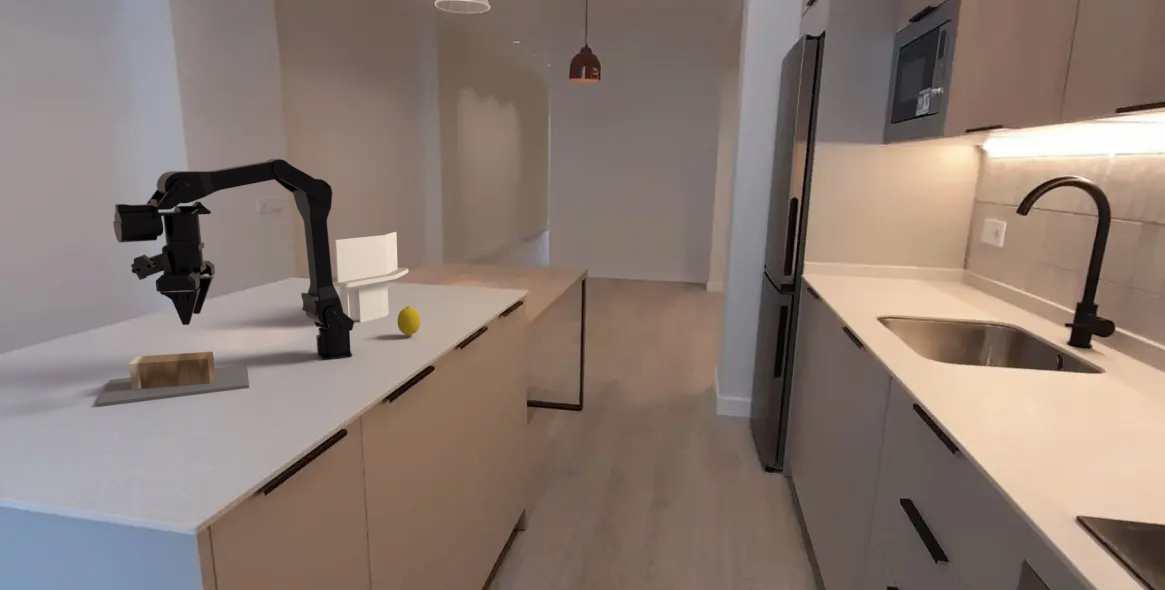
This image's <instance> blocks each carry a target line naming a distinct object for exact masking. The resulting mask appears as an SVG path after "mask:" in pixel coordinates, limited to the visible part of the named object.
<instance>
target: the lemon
mask: <svg viewBox="0 0 1165 590" xmlns="http://www.w3.org/2000/svg"><path fill="white" fill-rule="evenodd" d="M397 326H398V330H399V331H400V332H401V333H402V334H404V335H406V336H407V337H408V338H410V337H412V336H413V335H414V334H416V333H417V332H418V331H419V329H420V327H421V319H420V314H419V312H418V311H417V309H415V308H413V307H411V306H410V305H408V306H406V307H403V308H402V309H401V310H400V311H399V313H398V316H397Z"/></svg>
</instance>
